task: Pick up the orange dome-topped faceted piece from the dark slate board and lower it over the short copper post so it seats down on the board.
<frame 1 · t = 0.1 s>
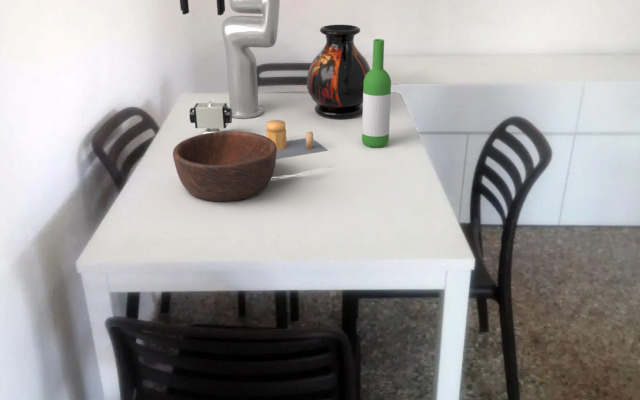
hand: (203, 14, 170), 37 cm above the table, tool pointing down, fingers open, 9 cm apart
pneumatic valve: (213, 141, 190), on the table
board: (290, 152, 181), on the table
wooden bowl: (227, 186, 160), on the table
wine bottle: (375, 144, 187), on the table
black vase: (339, 113, 215), on the table
orange dome-topped faceted piece: (276, 146, 181), point 1 cm above the table, touching board
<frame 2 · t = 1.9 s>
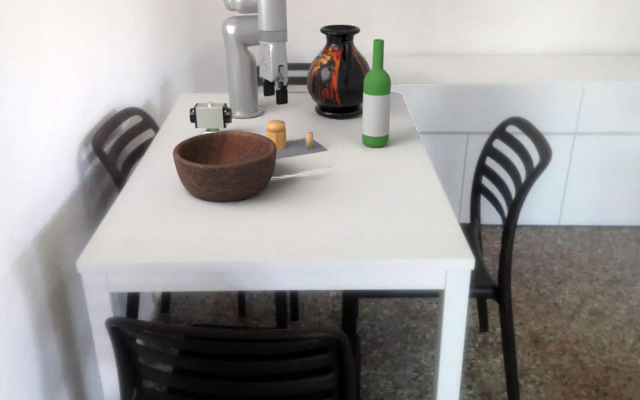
hand: (275, 99, 175), 15 cm above the table, tool pointing down, fingers open, 9 cm apart
nothing on the table moved.
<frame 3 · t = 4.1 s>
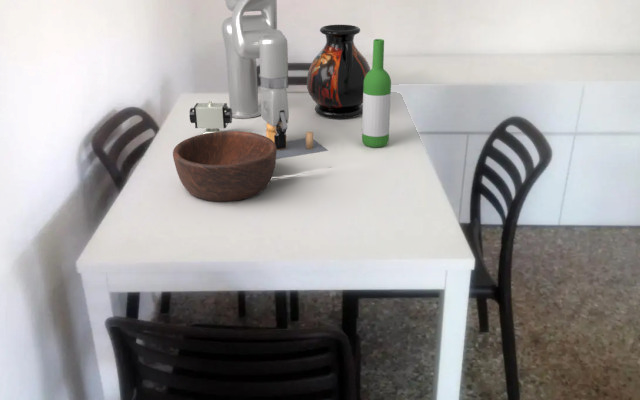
hand: (276, 144, 181), 2 cm above the table, tool pointing down, fingers closed on orange dome-topped faceted piece, 5 cm apart
orange dome-topped faceted piece: (276, 146, 181), point 1 cm above the table, touching board, gripper
everything else where it was.
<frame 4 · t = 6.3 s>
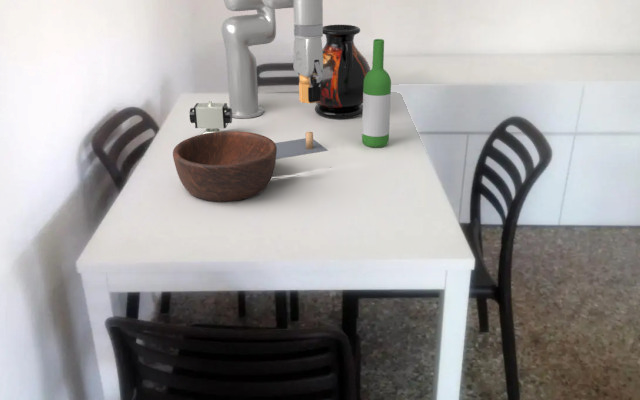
hand: (309, 98, 174), 16 cm above the table, tool pointing down, fingers closed on orange dome-topped faceted piece, 5 cm apart
orange dome-topped faceted piece: (309, 100, 174), point 15 cm above the table, touching gripper
everything else where it was.
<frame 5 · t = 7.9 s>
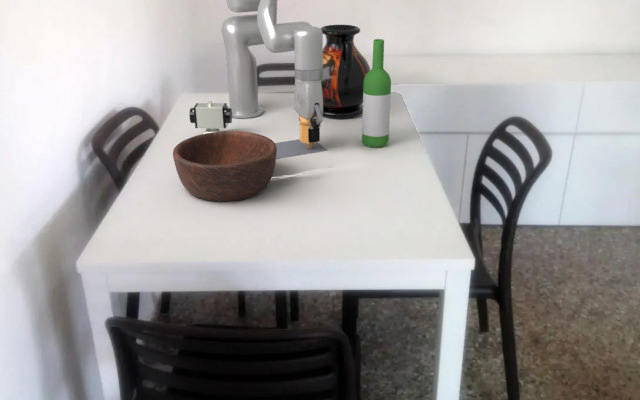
hand: (309, 138, 179), 4 cm above the table, tool pointing down, fingers closed on orange dome-topped faceted piece, 5 cm apart
orange dome-topped faceted piece: (309, 140, 179), point 4 cm above the table, touching gripper
everything else where it was.
when the fingers open (3 cm above the table, at t = 8.9 s): orange dome-topped faceted piece drops 2 cm, resting on board.
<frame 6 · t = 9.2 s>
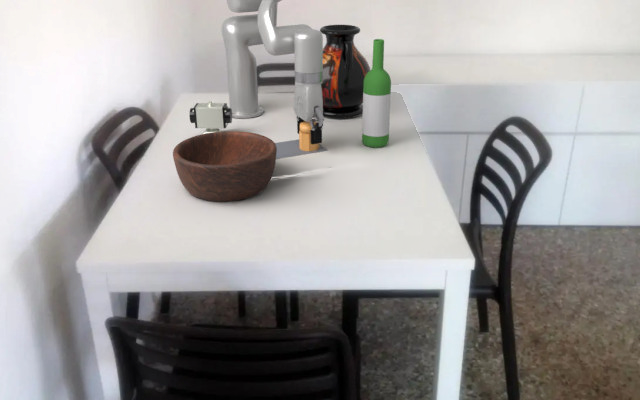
hand: (309, 138, 179), 4 cm above the table, tool pointing down, fingers open, 8 cm apart
orange dome-topped faceted piece: (309, 147, 180), point 1 cm above the table, touching board
everything else where it was.
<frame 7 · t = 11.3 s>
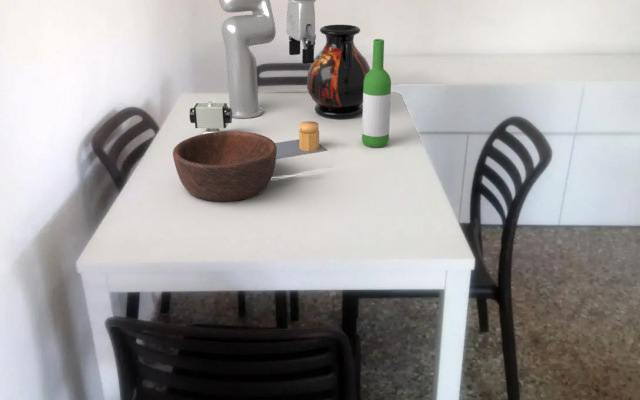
hand: (301, 58, 178), 25 cm above the table, tool pointing down, fingers open, 9 cm apart
nothing on the table moved.
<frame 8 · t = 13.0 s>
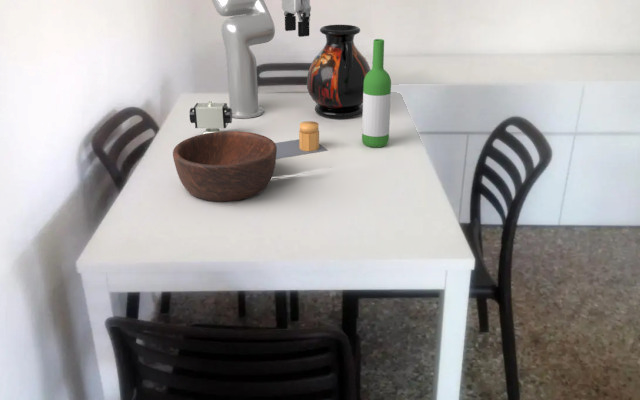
hand: (297, 33, 182), 30 cm above the table, tool pointing down, fingers open, 9 cm apart
nothing on the table moved.
at the end: orange dome-topped faceted piece 0.1 cm from the target spot on the board, point 1.2 cm above the board's base; orange dome-topped faceted piece tilted 0°; the gripper is holding nothing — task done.
